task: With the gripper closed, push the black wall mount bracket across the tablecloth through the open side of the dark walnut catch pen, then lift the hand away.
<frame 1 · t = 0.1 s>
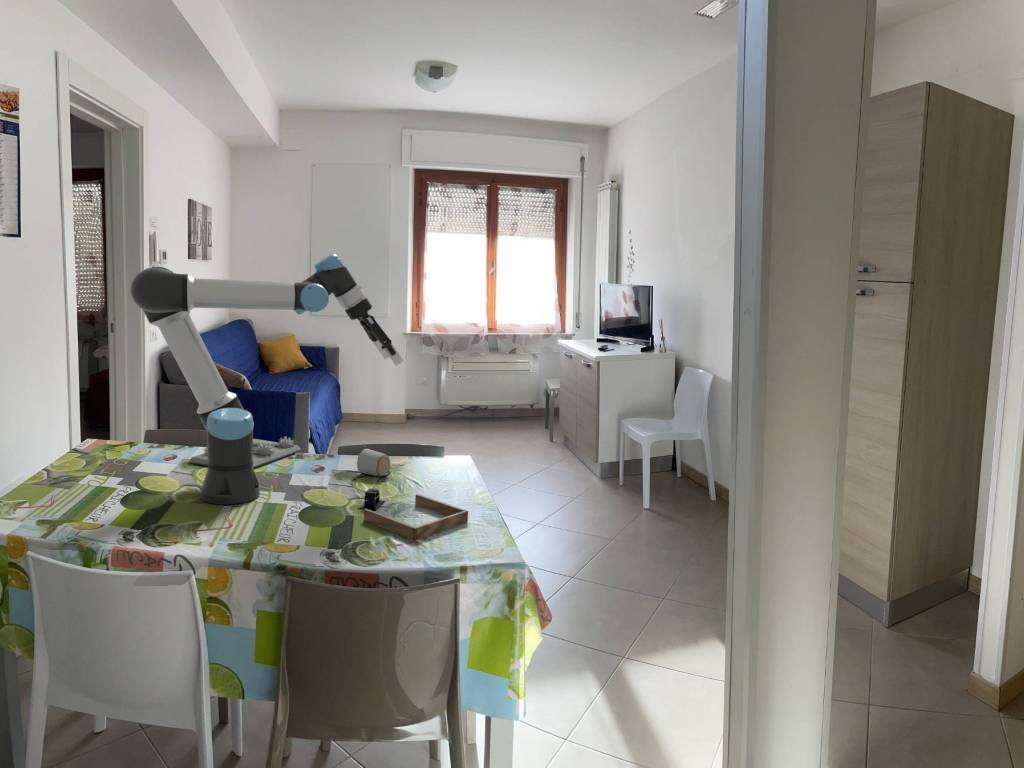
hand: (394, 360, 228), 36 cm above the table, tool tilted 35°, fingers open, 13 cm apart
catch pen: (415, 520, 192), on the table
black wall mount bracket: (371, 507, 203), on the table
ceramic mug: (375, 474, 232), on the table
flat grey tray: (247, 459, 243), on the table
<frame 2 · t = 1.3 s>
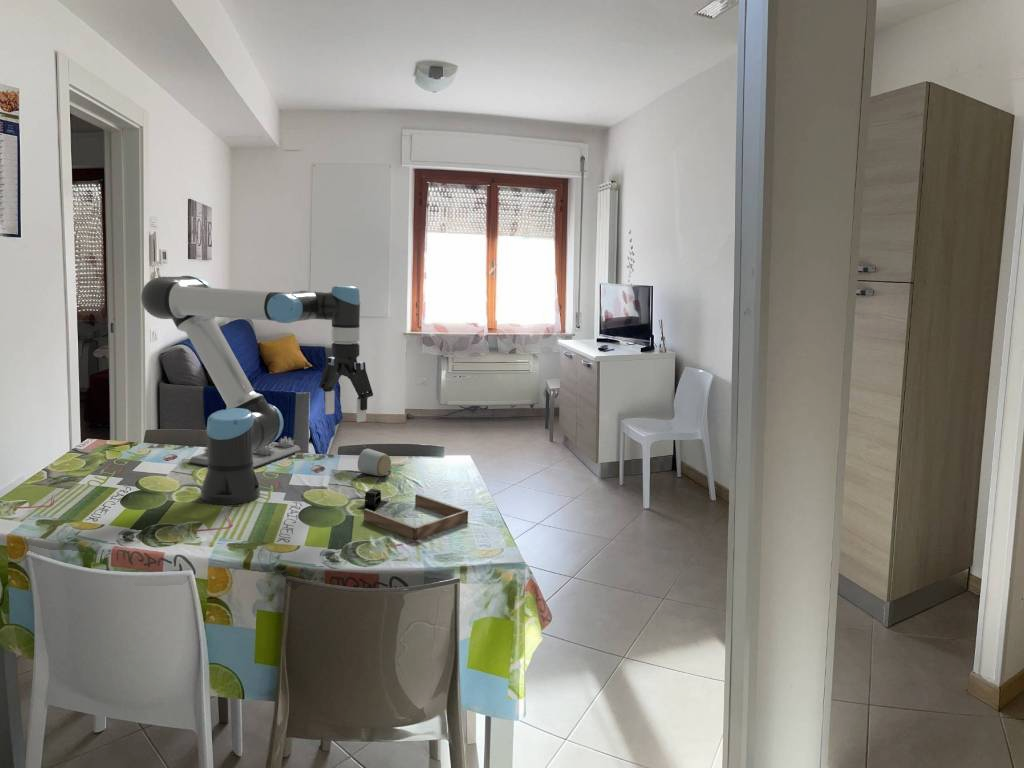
hand: (345, 417, 208), 22 cm above the table, tool pointing down, fingers open, 13 cm apart
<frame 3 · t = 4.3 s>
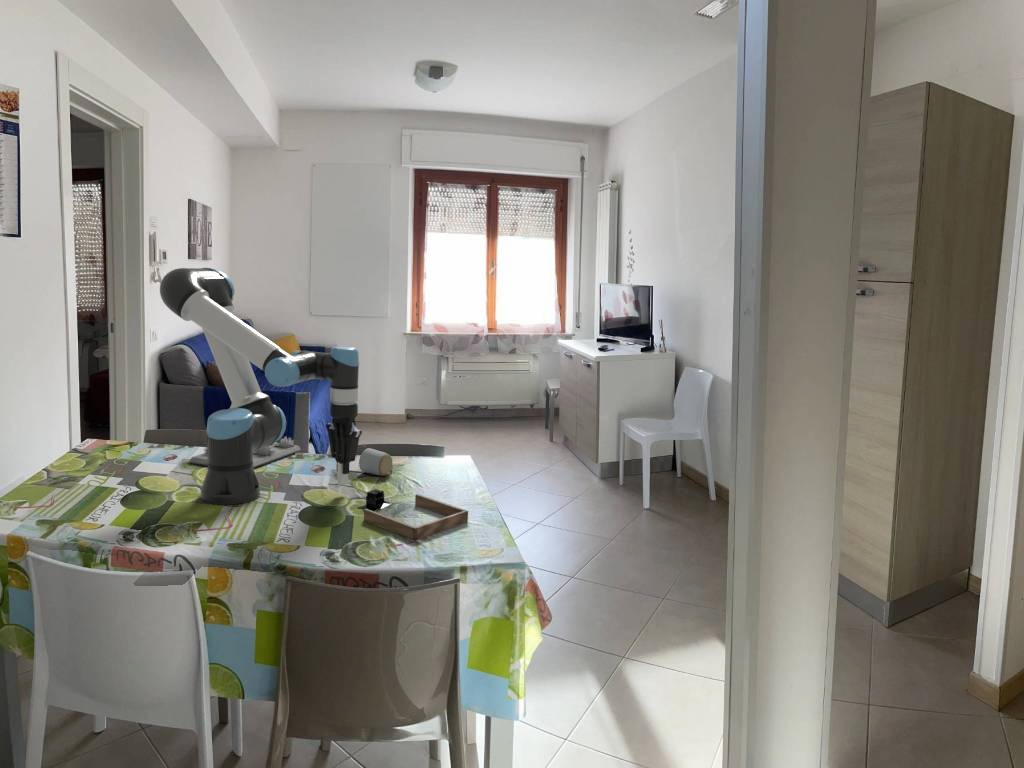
hand: (342, 484, 210), 3 cm above the table, tool pointing down, fingers closed
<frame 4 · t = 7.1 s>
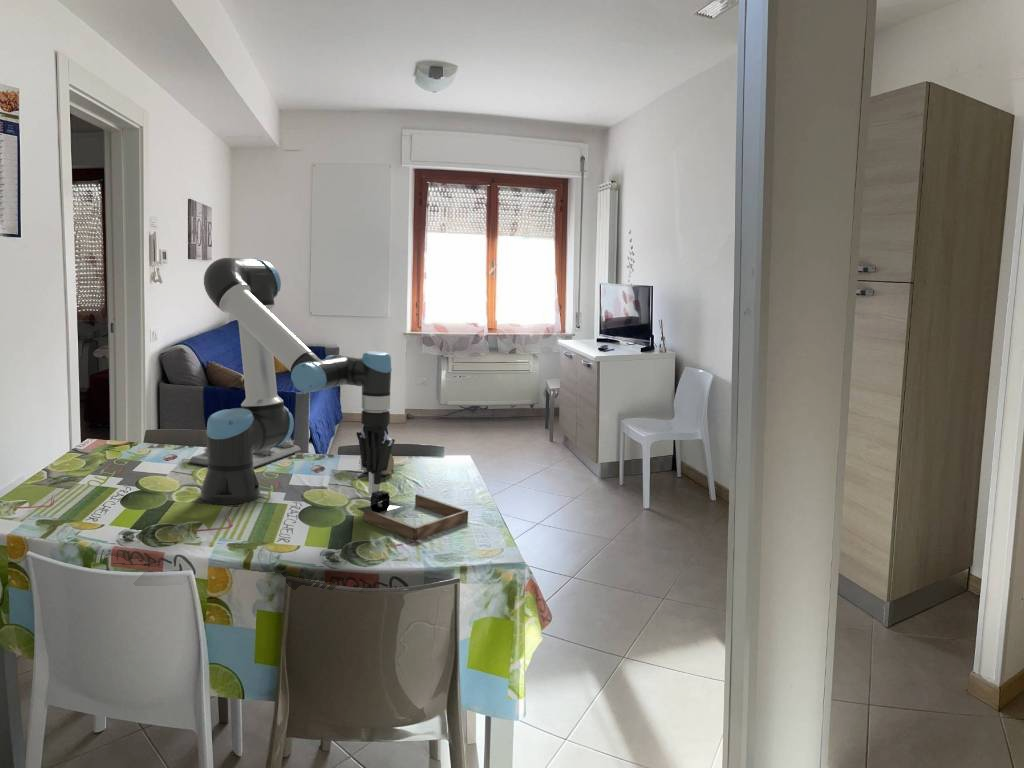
hand: (373, 494, 202), 3 cm above the table, tool pointing down, fingers closed
black wall mount bracket: (379, 509, 201), on the table, touching gripper
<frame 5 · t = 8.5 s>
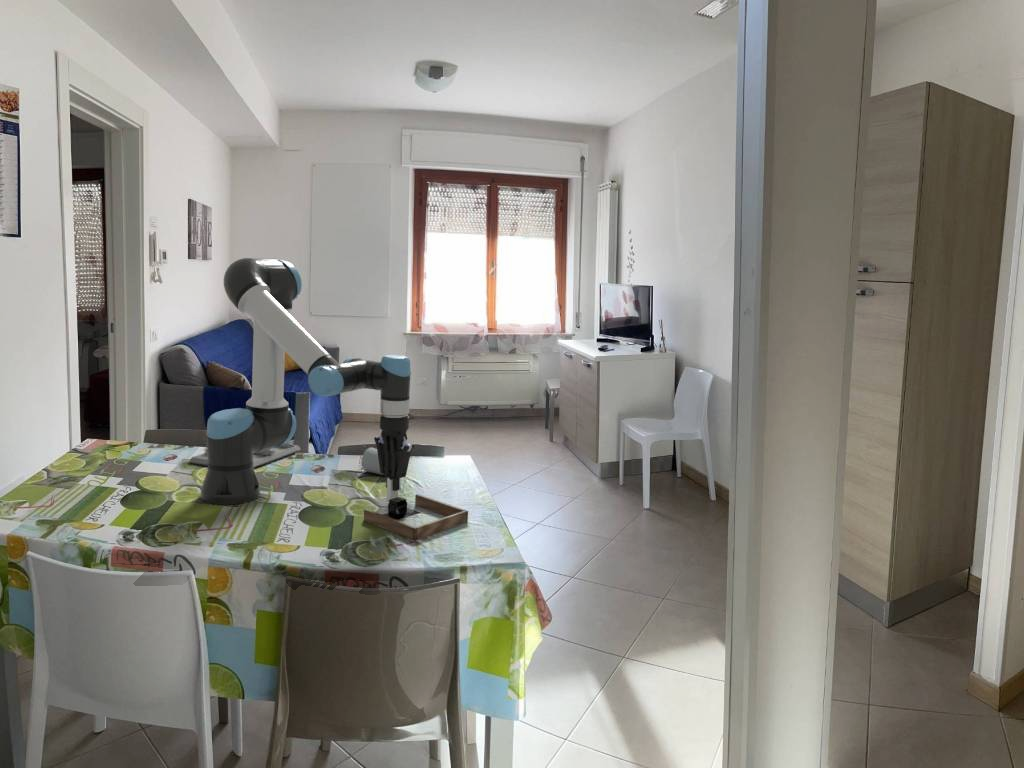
hand: (392, 501, 197), 3 cm above the table, tool pointing down, fingers closed
black wall mount bracket: (397, 516, 197), on the table, touching gripper
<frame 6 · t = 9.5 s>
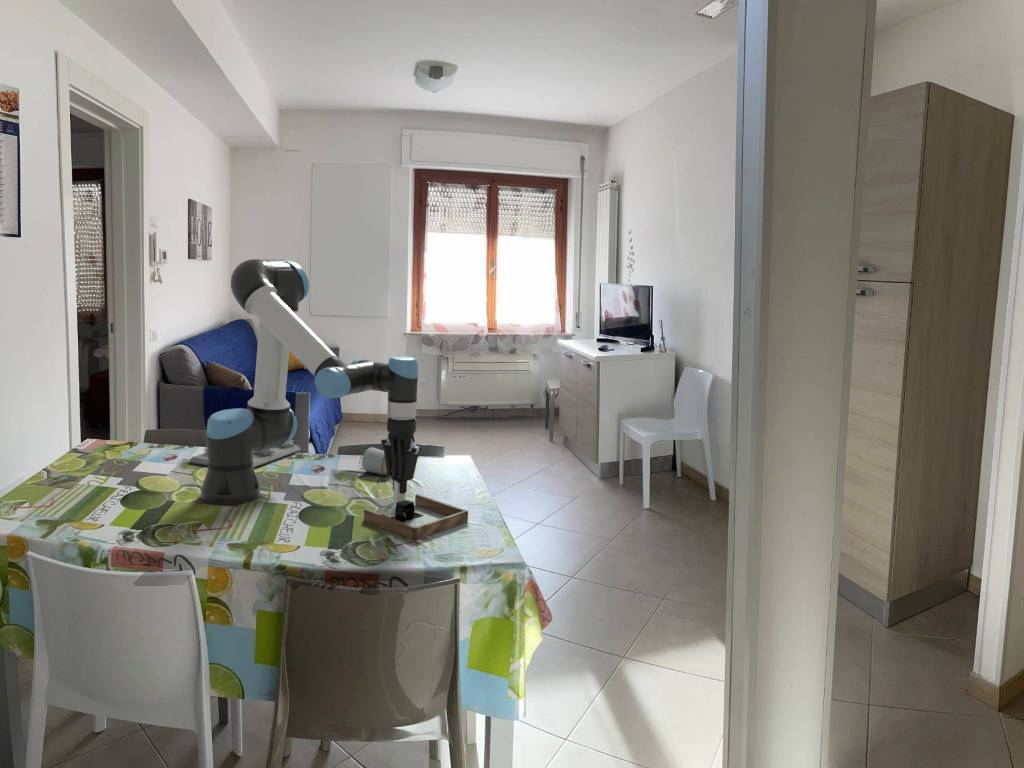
hand: (399, 504, 196), 3 cm above the table, tool pointing down, fingers closed
black wall mount bracket: (404, 519, 195), on the table, touching gripper
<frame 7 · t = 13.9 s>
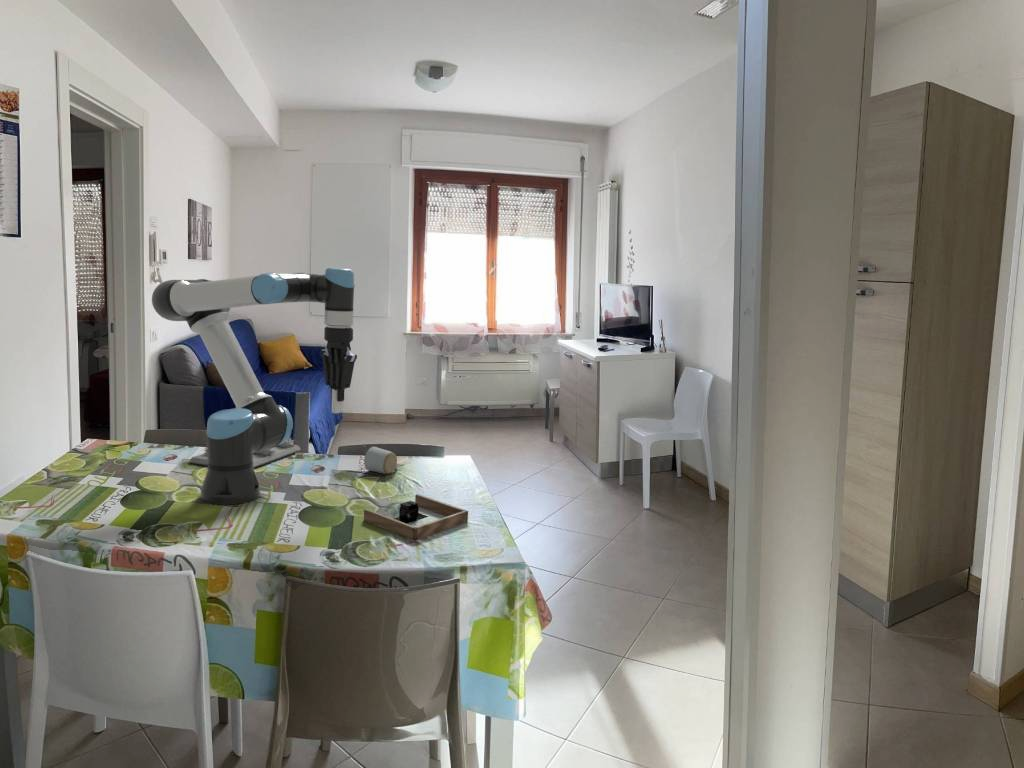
hand: (337, 412, 203), 24 cm above the table, tool pointing down, fingers closed
black wall mount bracket: (408, 520, 194), on the table
ceramic mug: (382, 471, 235), on the table
everything else where it was.
at the end: black wall mount bracket inside the target area on the catch pen (4.5 cm from its centre), point -0.8 cm above the catch pen's base; black wall mount bracket tilted 0° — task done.
